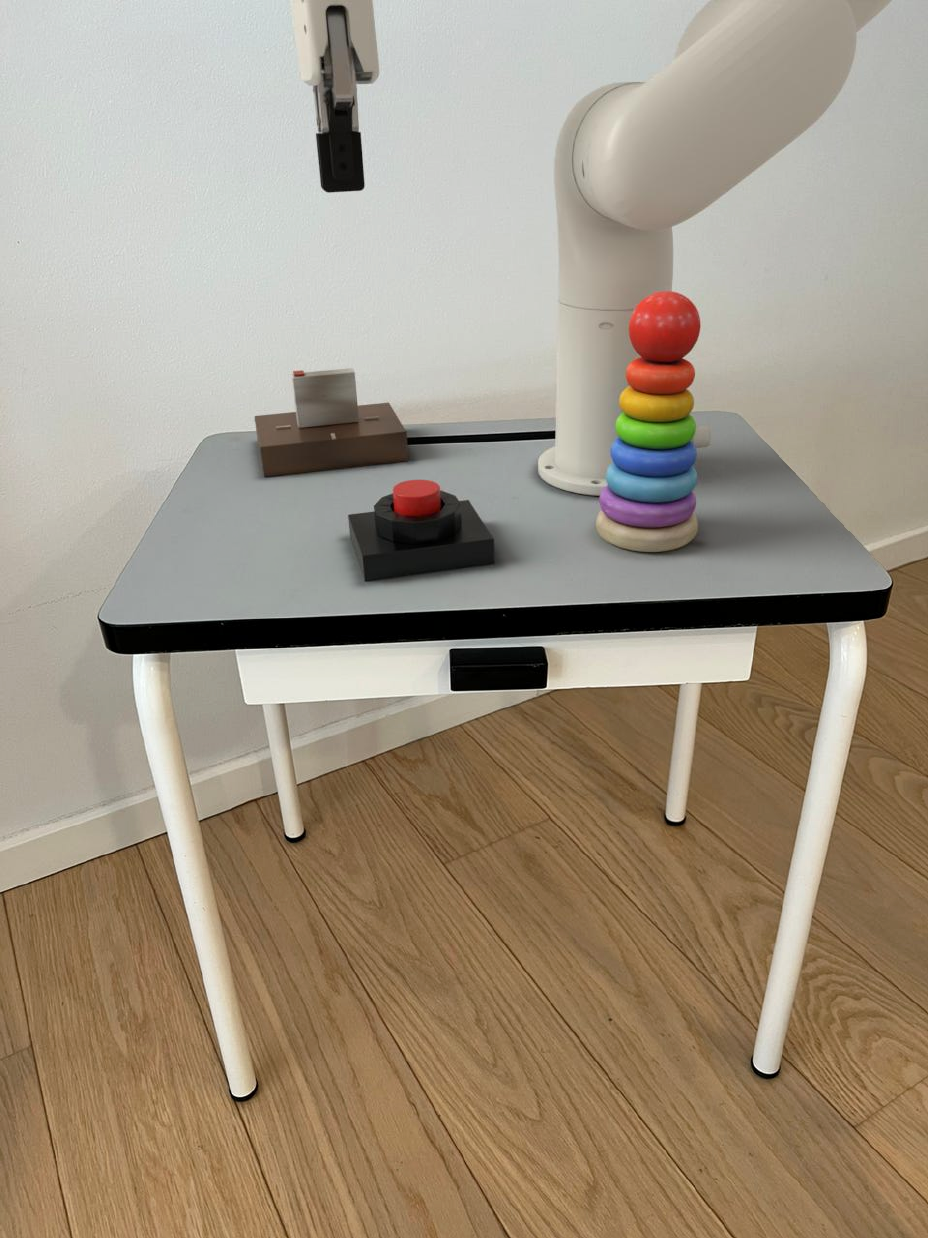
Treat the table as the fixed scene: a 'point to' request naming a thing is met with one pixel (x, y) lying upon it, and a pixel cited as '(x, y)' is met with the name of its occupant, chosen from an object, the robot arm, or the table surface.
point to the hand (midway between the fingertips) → (343, 189)
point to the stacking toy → (654, 433)
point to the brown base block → (330, 442)
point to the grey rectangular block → (325, 397)
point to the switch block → (419, 539)
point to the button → (416, 497)
